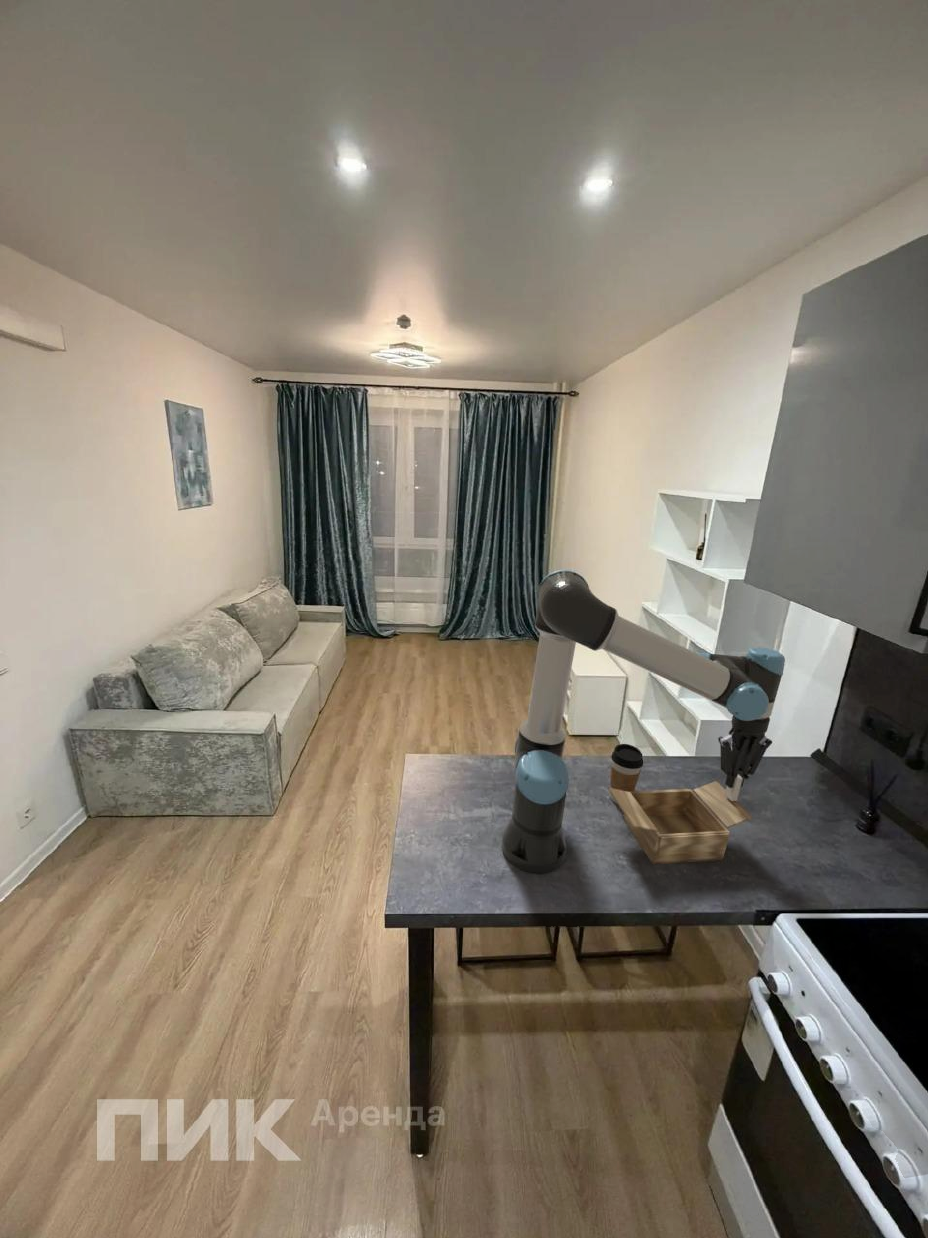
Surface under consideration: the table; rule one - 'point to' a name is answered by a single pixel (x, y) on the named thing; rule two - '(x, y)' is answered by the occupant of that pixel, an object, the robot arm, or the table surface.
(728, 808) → the flap
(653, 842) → the crate
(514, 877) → the table surface
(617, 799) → the flap
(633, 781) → the coffee cup
